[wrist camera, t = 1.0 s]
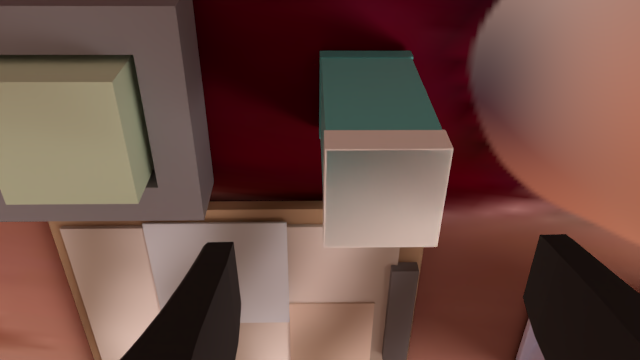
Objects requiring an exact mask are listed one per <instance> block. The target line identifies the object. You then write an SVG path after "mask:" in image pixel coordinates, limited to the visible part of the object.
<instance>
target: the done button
mask: <svg viewBox="0 0 640 360" xmlns="http://www.w3.org/2000/svg"><path fill="white" fill-rule="evenodd" d="M153 169H154V163H153V158H152V152H151V147H150V142H149V136H148V131H147V126H146V120H145V115H144V110H143V104H142V99H141V94H140V88H139V83H138V78H137V72H136V67H135V62H134V56H133V55H0V190H1V193H2V195H3V198H4V201H5V203H6V205H38V204H139V201H140V199H141V197H142V194H143V192H144V190H145V187H146V185H147V183H148V180H149V178H150V176H151V173H152V171H153Z"/></svg>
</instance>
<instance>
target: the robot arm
mask: <svg viewBox="0 0 640 360" xmlns="http://www.w3.org/2000/svg"><path fill="white" fill-rule="evenodd" d="M523 299H524V302H525V306H526V310H527V313H528V317H529V318H528V321H527V325H526V328H525V331H524V334H523V337H522V341H521V344H520V347H519V350H518V353H517V357H516V360H640V294H639V293H638V292H637V291H635V290H634V289H633V288H631V287H630V286H629V285H628V284H626V283H625V282H624V281H623V280H621V279H620V278H619V277H618V276H617V275H615V274H614V273H613V272H612V271H610V270H609V269H608V268H607V267H606V266H604V265H603V264H602V263H601V262H600V261H598V260H597V259H596V258H595V257H593V256H592V255H591V254H590V253H589V252H587V251H586V250H585V249H584V248H583V247H581V246H580V245H579V244H578V243H576V242H575V241H574V240H573V239H571V238H570V237H569V236H567V235H566V234H561V235H540V237H539V240H538V244H537V248H536V251H535V255H534V259H533V263H532V266H531V270H530V274H529V277H528V281H527V285H526V288H525V292H524V296H523ZM240 317H241V296H240V289H239V281H238V273H237V265H236V257H235V249H234V242H207V243H206V244H205V245H204V246H203V248H202V249H201V251H200V253H199V255H198V256H197V258H196V260H195V261H194V263H193V264H192V266H191V268H190V269H189V271H188V272H187V274H186V275H185V277H184V278H183V280H182V281H181V283H180V284H179V286H178V287H177V289H176V290H175V292H174V293H173V294H172V296H171V297H170V299H169V300H168V301H167V303H166V304H165V306H164V307H163V308H162V310H161V311H160V312H159V314H158V315H157V316H156V317H155V319H154V320H153V321H152V322H151V324H150V325H149V326H148V327H147V329H146V330H145V331H144V332H143V334H142V335H141V336H140V337H139V338H138V340H137V341H136V342H135V343H134V344H133V345H132V346H131V348H130V349H129V350H128V351H127V352H126V353H125V354H124V355H123V357H122V358H121V359H120V360H235V359H236V354H237V348H238V342H239V330H240Z"/></svg>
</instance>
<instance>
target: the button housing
mask: <svg viewBox="0 0 640 360" xmlns="http://www.w3.org/2000/svg"><path fill="white" fill-rule="evenodd" d="M0 55H133V56H134V62H135V67H136V72H137V78H138V83H139V88H140V94H141V99H142V104H143V110H144V115H145V120H146V126H147V131H148V136H149V142H150V147H151V152H152V158H153V163H154V169H153V171H152V173H151V176H150V178H149V180H148V183H147V185H146V187H145V190H144V192H143V194H142V197H141V199H140V201H139V204H38V205H6V203H5V201H4V198H3V195H2V193H1V190H0V222H34V221H182V220H205V216H206V212H207V208H208V204H209V200H210V196H211V192H212V188H213V184H214V178H213V170H212V161H211V153H210V144H209V136H208V128H207V119H206V111H205V102H204V94H203V85H202V77H201V68H200V60H199V52H198V43H197V35H196V26H195V18H194V9H193V1H192V0H0Z"/></svg>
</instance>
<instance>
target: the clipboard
mask: <svg viewBox="0 0 640 360" xmlns="http://www.w3.org/2000/svg"><path fill="white" fill-rule="evenodd" d="M48 223H49V226H50V229H51V232H52V235H53V238H54V241H55V244H56V247H57V250H58V253H59V256H60V259H61V262H62V265H63V268H64V271H65V274H66V277H67V280H68V283H69V286H70V289H71V292H72V295H73V298H74V301H75V304H76V307H77V310H78V313H79V316H80V319H81V322H82V325H83V328H84V331H85V334H86V337H87V340H88V343H89V346H90V349H91V352H92V355H93V358H94V360H120V359H121V358H122V357H123V355H124V354H125V353H126V352H127V351H128V350H129V349H130V348H131V346H132V345H133V344H134V343H135V342H136V341H137V340H138V338H139V337H140V336H141V335H142V334H143V332H144V331H145V330H146V329H147V327H148V326H149V325H150V324H151V322H152V321H153V320H154V319H155V317H156V316H157V315H158V314H159V312H160V311H161V310H162V308H163V307H164V306H165V304H166V303H167V301H168V300H169V299H170V297H171V296H172V294H173V293H174V292H175V290H176V289H177V287H178V286H179V284H180V283H181V281H182V280H183V278H184V277H185V275H186V274H187V272H188V271H189V269H190V268H191V266H192V264H193V263H194V261H195V260H196V258H197V256H198V255H199V253H200V251H201V249H202V248H203V246H204V245H205V244H206V243H207V242H234V249H235V257H236V265H237V273H238V281H239V289H240V296H241V317H240V330H239V342H238V348H237V354H236V359H235V360H407V357H408V351H409V344H410V337H411V330H412V323H413V317H414V310H415V303H416V296H417V289H418V282H419V276H420V269H421V262H422V255H423V248H424V247H360V248H323V201H209V204H208V208H207V212H206V216H205V220H182V221H48Z"/></svg>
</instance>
